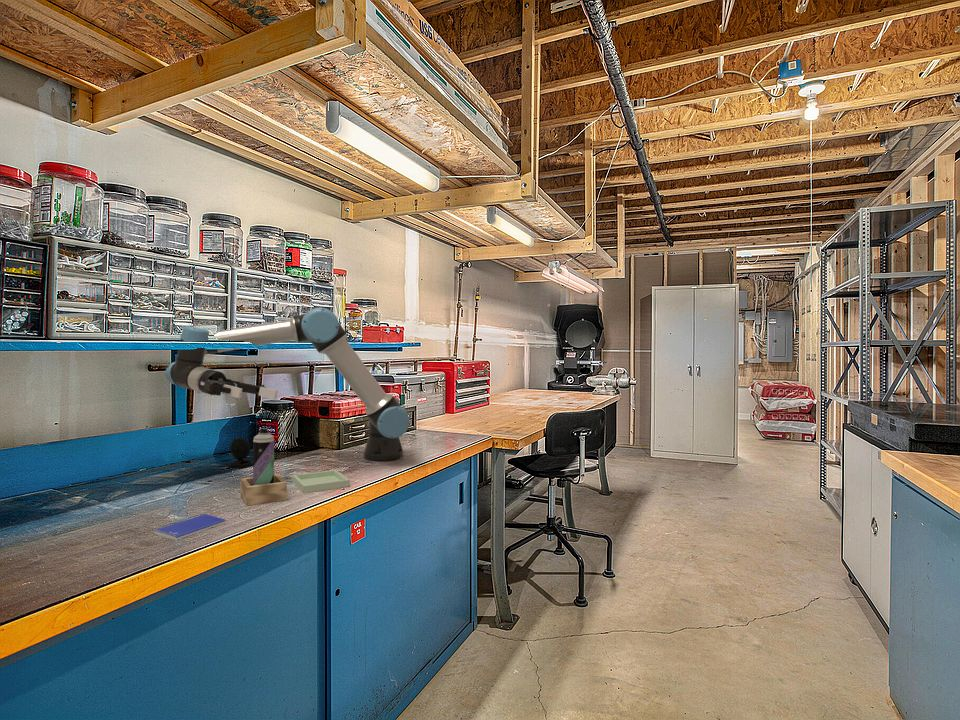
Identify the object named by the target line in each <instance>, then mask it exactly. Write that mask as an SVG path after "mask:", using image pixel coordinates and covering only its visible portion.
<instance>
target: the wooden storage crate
mask: <svg viewBox="0 0 960 720" xmlns="http://www.w3.org/2000/svg"><path fill="white" fill-rule="evenodd" d="M287 487H288V484H287V481H286V480H285V479H284V478H283V477H282V476H281V475H280V474H279V473H277V474H275V473H274V483H270V484H262V485H255V486H253V476H251V477H244V478H240V498H241V500H243V502H244V504H245V506H246V507H247V506H249V505H250V506H256V505H262V503H263V504H268V503H269V502H270V503H277V502H283V501H282V500H284V501H287V497H288V495H287V494H288V492H287V491H288V490H287V489H288V488H287ZM276 501H277V502H276ZM270 503H269V504H270ZM250 506H249V507H250Z"/></svg>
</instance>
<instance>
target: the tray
mask: <svg viewBox="0 0 960 720" xmlns="http://www.w3.org/2000/svg"><path fill="white" fill-rule="evenodd" d="M291 476H292V477H291V479H292V480H291V482H292V483H293V484H294V485H295V486H296V487H297V488H298V489H299V490H300V491H301V492H302V493H303V494H307V493H315V492H320V491H321V492H322V490H323V491H329V489H330V490H334V489H336V488H337V489H342V487H344V488H349V487H348V486H350V487H351V479H350V478H348V477H347V476H346V475H343V474H342V473H341V472H340V471H338V470H336V469H332V470H331V469H330V470H323V471H322V470H321V471H317V472H308V473H307V472H306V473H299V474H292V475H291Z"/></svg>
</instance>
